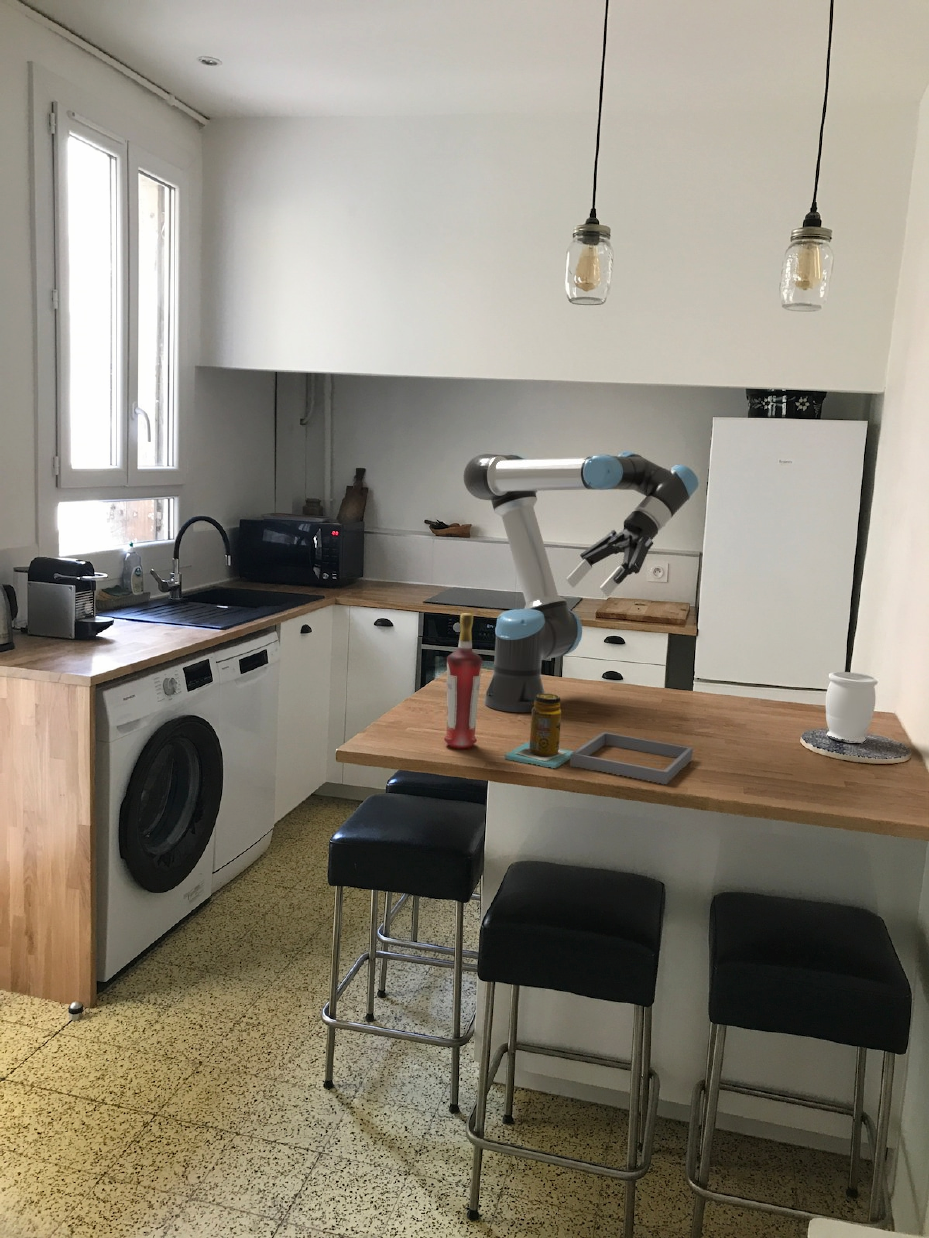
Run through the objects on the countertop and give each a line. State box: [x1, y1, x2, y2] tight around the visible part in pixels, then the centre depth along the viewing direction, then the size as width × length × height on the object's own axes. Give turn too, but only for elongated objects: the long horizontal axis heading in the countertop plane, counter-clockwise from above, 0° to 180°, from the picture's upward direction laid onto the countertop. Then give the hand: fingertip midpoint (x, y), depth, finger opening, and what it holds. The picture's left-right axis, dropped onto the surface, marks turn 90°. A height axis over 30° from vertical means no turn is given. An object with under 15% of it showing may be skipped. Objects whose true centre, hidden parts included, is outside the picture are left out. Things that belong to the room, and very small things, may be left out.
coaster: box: [504, 742, 575, 769], centre depth 198 cm, size 11×11×1 cm
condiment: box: [515, 693, 566, 761], centre depth 197 cm, size 7×8×12 cm
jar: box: [825, 671, 879, 742], centre depth 223 cm, size 11×10×15 cm
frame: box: [569, 731, 694, 785], centre depth 198 cm, size 20×20×2 cm
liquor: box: [443, 613, 483, 750], centre depth 201 cm, size 7×7×28 cm
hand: (586, 587), depth 215 cm, fingers open, 13 cm apart
